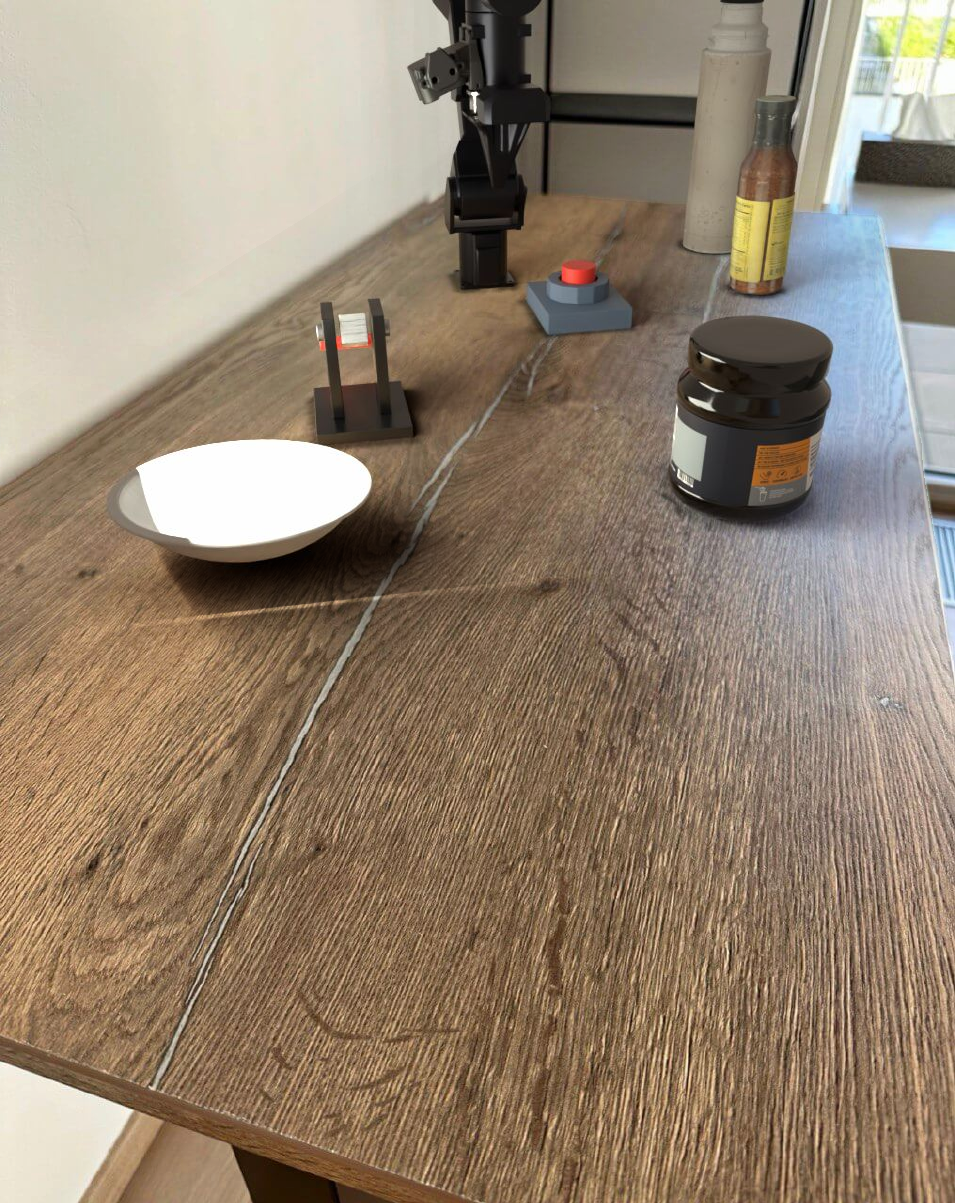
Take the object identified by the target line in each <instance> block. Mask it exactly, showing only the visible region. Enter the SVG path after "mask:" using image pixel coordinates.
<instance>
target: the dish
mask: <svg viewBox="0 0 955 1203" xmlns="http://www.w3.org/2000/svg"><path fill="white" fill-rule="evenodd" d="M372 490H373V478H372V475H371V473H370V471H369V469H368V468H367V467H366V465H365V464H363V462H361V461H359V459H357V458H356V457H354V456H352V455H350V454H349V453H346V452H344V451H341V450H339V449H336V448H332V447H329V446H327V445H322V446H321V445H318V444H317V443H310V442H305V441H296V440H286V439H285V440H284V439H245V440H234V441H224V442H217V443H211V444H205V445H199V446H194V447H191V448H186V449H182V450H179V451H175V452H172V453H168V454H165V455H163V456H160V457H157V458H155V459H152V460H150V461H148V462H145V463H143V464H141V465H139V466H137V467H135V468H134V469H132V470H130V471H129V472H127V473H126V474H124V475H123V476H122V477H121V478H120V479H119V480H117V481H116V482H115V483H114V484H113V486H112V487H111V488H110V490H109V492H108V494H107V497H106V504H105V505H106V510H107V513H108V515H109V517H110V518H111V519H112V521H113V522H114V523H115V524H116V525H117V526H118V527H120V528H121V529H123V530H124V531H126V532H128V533H129V534H131V535H134V536H136V537H138V538H141V539H144V540H148V541H150V542H152V543H154V544H156V545H158V546H160V547H162V548H164V549H166V550H168V551H171V552H174V553H176V554H180V555H181V556H185V557H189V558H193V559H198V560H203V561H208V562H215V563H216V562H217V563H252V562H258V561H259V562H260V561H265V560H271V559H274V558H275V559H276V558H279V557H282V556H285V555H289V554H291V553H295V552H297V551H300V550H302V549H304V548H306V547H308V546H309V545H311V544H314V543H315V542H317V541H318V540H320V539H322V538H323V537H324V536H326V535H327V534H329V533H330V532H331V531H333V529H335V528H336V527H337V526H339V524H341V523H342V521H343V520H345V519H346V518H348V517H350V516H351V515H352V514H354V513H355V512H357V510H359V509H360V508H361V507H363V505H364V504H365V502H366V501H367V500H368V499H369V497H370V495H371V492H372Z"/></svg>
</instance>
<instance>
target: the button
mask: <svg viewBox="0 0 955 1203" xmlns="http://www.w3.org/2000/svg"><path fill="white" fill-rule="evenodd" d="M561 264H562V265H561V270H562V282H565V283H569V284H589V283H592V282H595V275H596V271H597V264H596V263H595V262H593V261H590V260H583V259H573V260H568V261H565V262H563V263H561Z"/></svg>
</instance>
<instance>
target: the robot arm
mask: <svg viewBox="0 0 955 1203" xmlns="http://www.w3.org/2000/svg"><path fill="white" fill-rule="evenodd" d="M431 1H432V4H434V6H435V7H436V8H437V10H438V11H439V12H440V13H441V15H442V16H443V17H444V19H446V21H447V25H448V33H449V44H450V45H449V46H445V47H441V46H438V47H436V50H434V51H431V52H426V53H424V57H422V58H420V59H418V60H416V61H414V62H411V63H410V64H408V65H407V66H406V69H407V71H408V74H409V77H410V79H411V82H412V84H413V87H414V90H415V92H416V95H417V97H418V100H419V101H420V102H422V104H423V105H429V104H432V103H435V102H437V101H438V100H439V99H440V98H441V97H442V96H445V95H446V94H448V93H449V92H450V99H451V101H453V102H454V103H456V111H457V112H456V113H457V120H458V131H459V140H458V141H457V144H456V146H455V150H454V152H453V155H452V160H451V166H450V173H449V176H446V181H445V190H444V200H443V201H444V202H443V209H444V210H443V212H444V225H445V228H446V229H447V231H448V234H449V235H455V234H458V261H459V269H454V270H453V277H454V279H455V281H456V282H457V283H456V284H458V287H459V289H460V290H476V289H477V290H479V289H491V288H492V289H493V288H505V287H515V286H516V285H515V283H516V282H515V279H514V277H513V276H512V274H510V272H509V270H508V231H522V227H524V226H525V209H526V203H527V196H528V186H527V185H526V184H525V183H524V179H523V174H522V173H521V172H518V166H517V161H516V160H517V159H516V158H517V155H518V154H519V152H520V149H521V146H522V144H523V143H524V140H525V137H526V135H527V133H528V130H529V128H530V126H531V124H532V123H534V124H535V123H546V122H550V121H551V97H550V96H549V95H548V94H547V93H546V92H545V91H544V90H543V88H542V87H540V86H539V85H536V84H535V83H532V73H530V72H528V71H527V38H529V37H532V26H533V25H532V23H530V22H527V15H529V14H530V13H532V12H533V11H534V10H535V9H536V8H537V7H538V6H539V5H540V4H541V2H542V0H431Z"/></svg>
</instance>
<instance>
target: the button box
mask: <svg viewBox="0 0 955 1203" xmlns="http://www.w3.org/2000/svg"><path fill="white" fill-rule="evenodd" d="M610 280H611V278H610V277H609V276H608V275H607V273H605V272H603V271H598V270H596V275H595V282H592V283H589V284H569V283H565V282H562V269H561V270H558V271H554V272H551V273H550V274H549V275H548V276H547V278H546V280H541V281H540V280H539V281H527V282H526V303H527V304H528V306H529V308H530V309H531V311H532V312H533V314H534V315H535V317H536V318H537V321H538V322H539V323H540V325H541V326H542V328H543V329H544V331H545V332H546V334H547V335H548V336H549V335H550V336H551V335H562V334H574V333H575V334H577V333H585V332H586V333H587V332H597V331H598V332H601V331H610V330H624V329H625V330H626V329H632V322H633V311H634V310H633V307H632V306H631V304H629V303H628V301H627V300H626V299H625V298H624V297H623V296H622V295H621V293H619V291H618V290H617V289H616V288H615V287H614V286H613V285H612V284H611V282H610Z"/></svg>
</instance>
